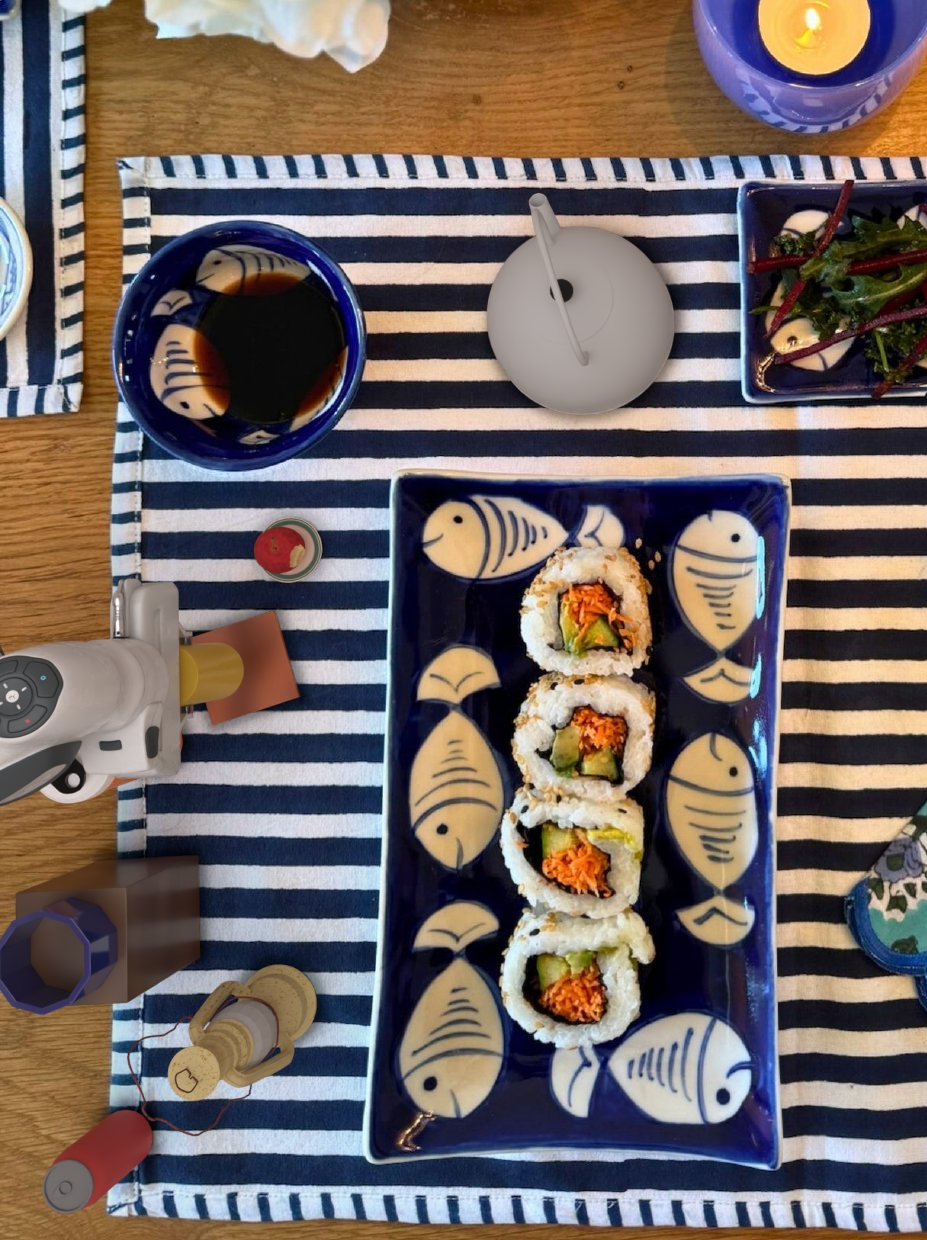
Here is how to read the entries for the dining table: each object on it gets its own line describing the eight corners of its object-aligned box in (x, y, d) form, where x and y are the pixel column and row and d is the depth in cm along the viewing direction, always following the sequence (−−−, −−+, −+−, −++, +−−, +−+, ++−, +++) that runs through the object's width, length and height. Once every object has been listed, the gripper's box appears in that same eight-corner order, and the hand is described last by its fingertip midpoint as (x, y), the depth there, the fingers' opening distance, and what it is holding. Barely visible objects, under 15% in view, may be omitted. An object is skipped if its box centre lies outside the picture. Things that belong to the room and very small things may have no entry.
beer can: (89, 1129, 137) (25, 1179, 125) (136, 1095, 137) (76, 1142, 126) (118, 1177, 137) (57, 1232, 125) (165, 1143, 137) (108, 1195, 125)
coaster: (214, 725, 141) (211, 725, 141) (189, 638, 142) (187, 638, 142) (300, 696, 141) (298, 697, 141) (275, 610, 142) (273, 610, 142)
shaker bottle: (164, 793, 141) (65, 824, 121) (103, 754, 141) (-5, 778, 121) (205, 730, 141) (113, 750, 121) (145, 691, 142) (44, 705, 122)
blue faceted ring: (24, 1001, 123) (-7, 1018, 118) (24, 900, 124) (-7, 912, 119) (118, 996, 123) (90, 1012, 118) (117, 894, 124) (90, 907, 119)
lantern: (212, 996, 138) (60, 1104, 108) (274, 938, 139) (140, 1029, 109) (278, 1073, 137) (143, 1203, 108) (340, 1014, 138) (223, 1128, 108)
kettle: (466, 250, 146) (412, 185, 124) (638, 196, 146) (615, 122, 124) (522, 438, 144) (477, 407, 121) (697, 383, 144) (685, 342, 121)
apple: (313, 509, 143) (292, 504, 137) (331, 571, 143) (310, 569, 136) (251, 529, 143) (227, 525, 137) (268, 591, 143) (245, 590, 136)
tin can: (187, 701, 134) (136, 710, 123) (186, 644, 134) (135, 647, 123) (244, 698, 134) (198, 706, 123) (243, 640, 134) (197, 643, 123)
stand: (101, 963, 139) (15, 1009, 123) (100, 860, 140) (14, 893, 124) (200, 957, 139) (127, 1003, 123) (199, 854, 140) (126, 886, 124)
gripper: (83, 579, 115) (156, 581, 128) (85, 790, 113) (159, 769, 127) (147, 575, 115) (213, 578, 128) (149, 786, 113) (216, 766, 126)
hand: (186, 675), depth 127 cm, fingers closed on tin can, 6 cm apart
